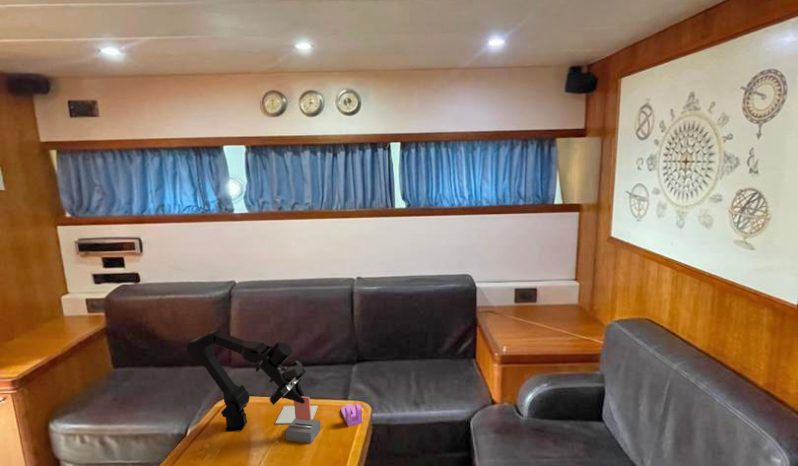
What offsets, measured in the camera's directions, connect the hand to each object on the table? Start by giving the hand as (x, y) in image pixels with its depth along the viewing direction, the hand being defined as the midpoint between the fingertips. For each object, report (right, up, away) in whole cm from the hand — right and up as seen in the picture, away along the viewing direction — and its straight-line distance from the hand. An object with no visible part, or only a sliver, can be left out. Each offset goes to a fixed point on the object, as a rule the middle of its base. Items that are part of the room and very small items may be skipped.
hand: (304, 402), depth 164 cm
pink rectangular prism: (-1, -7, +1) cm, 7 cm away
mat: (-6, -11, +16) cm, 20 cm away
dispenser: (-1, -13, +3) cm, 14 cm away
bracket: (+15, -11, +14) cm, 23 cm away
